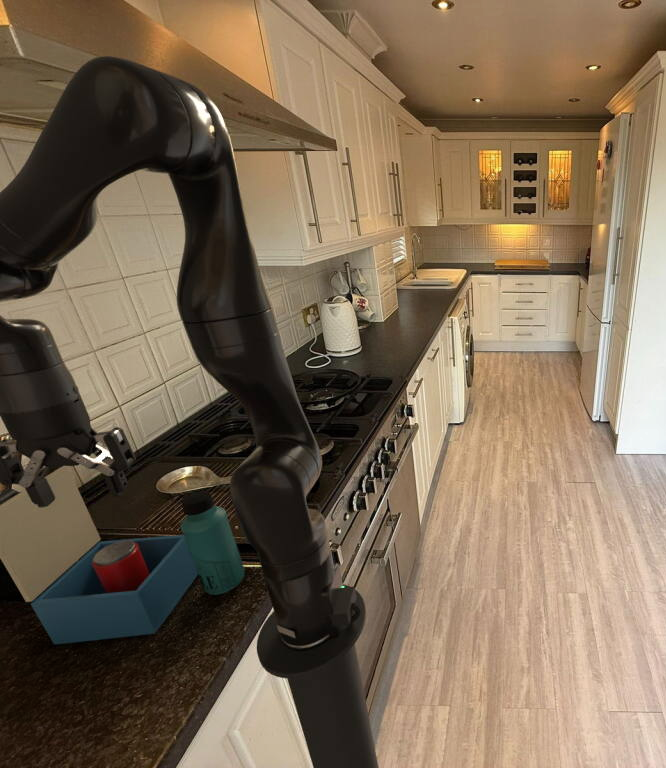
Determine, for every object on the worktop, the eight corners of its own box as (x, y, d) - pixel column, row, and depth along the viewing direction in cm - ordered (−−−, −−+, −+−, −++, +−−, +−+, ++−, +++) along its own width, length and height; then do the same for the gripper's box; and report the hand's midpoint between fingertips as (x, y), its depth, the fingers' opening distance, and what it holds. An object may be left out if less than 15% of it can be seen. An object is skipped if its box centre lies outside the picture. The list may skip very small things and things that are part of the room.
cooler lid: (67, 466, 67) (24, 468, 66) (-17, 518, 55) (-70, 522, 54) (101, 539, 72) (62, 542, 71) (32, 601, 60) (-16, 606, 60)
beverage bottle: (254, 570, 77) (227, 482, 70) (238, 600, 71) (207, 507, 64) (216, 575, 76) (185, 486, 69) (197, 605, 70) (161, 511, 63)
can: (164, 585, 73) (145, 537, 69) (143, 613, 68) (120, 562, 64) (130, 589, 73) (108, 540, 68) (105, 617, 67) (80, 566, 63)
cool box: (201, 570, 77) (188, 534, 74) (155, 633, 65) (137, 593, 62) (116, 578, 76) (99, 541, 72) (53, 644, 64) (30, 604, 60)
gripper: (-59, 417, 49) (1, 524, 55) (88, 403, 53) (129, 505, 59) (-8, 394, 56) (41, 492, 62) (119, 383, 60) (154, 476, 66)
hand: (84, 498), depth 61 cm, fingers open, 8 cm apart
